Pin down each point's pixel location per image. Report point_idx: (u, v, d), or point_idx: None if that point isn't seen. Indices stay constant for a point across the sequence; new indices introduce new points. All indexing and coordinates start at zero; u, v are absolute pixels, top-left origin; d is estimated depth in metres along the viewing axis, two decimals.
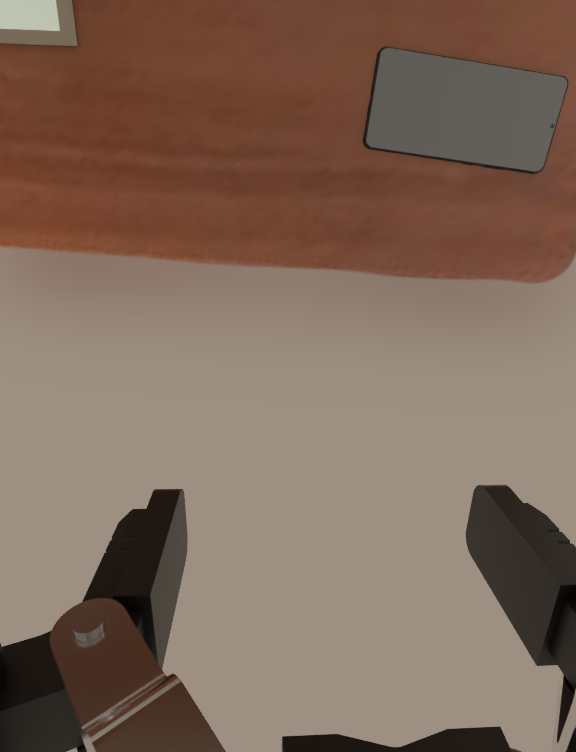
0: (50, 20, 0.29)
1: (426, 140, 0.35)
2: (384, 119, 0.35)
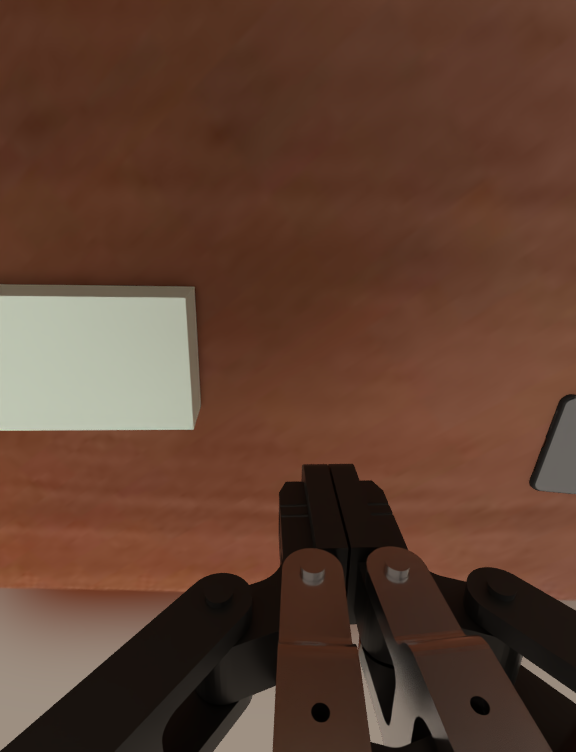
0: (182, 420, 0.24)
1: None
2: (560, 465, 0.29)
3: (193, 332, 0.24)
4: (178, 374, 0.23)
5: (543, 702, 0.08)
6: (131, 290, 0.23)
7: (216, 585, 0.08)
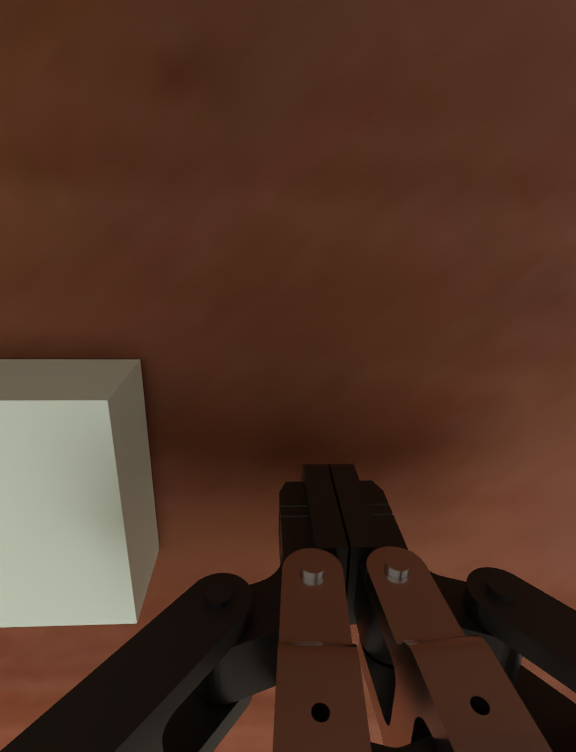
0: (116, 609, 0.13)
1: None
2: None
3: (136, 445, 0.13)
4: (102, 535, 0.12)
5: (543, 702, 0.08)
6: (13, 375, 0.12)
7: (217, 584, 0.08)
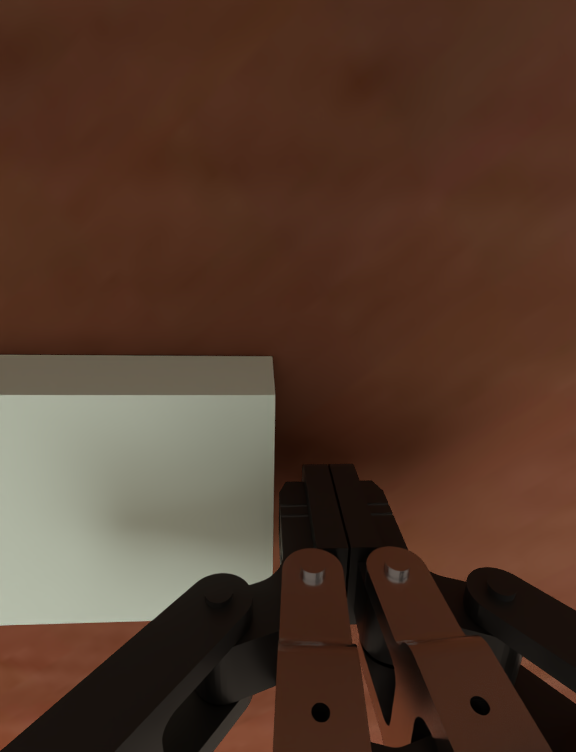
0: None
1: None
2: None
3: None
4: (251, 529, 0.12)
5: (543, 702, 0.08)
6: (163, 370, 0.12)
7: (217, 585, 0.08)
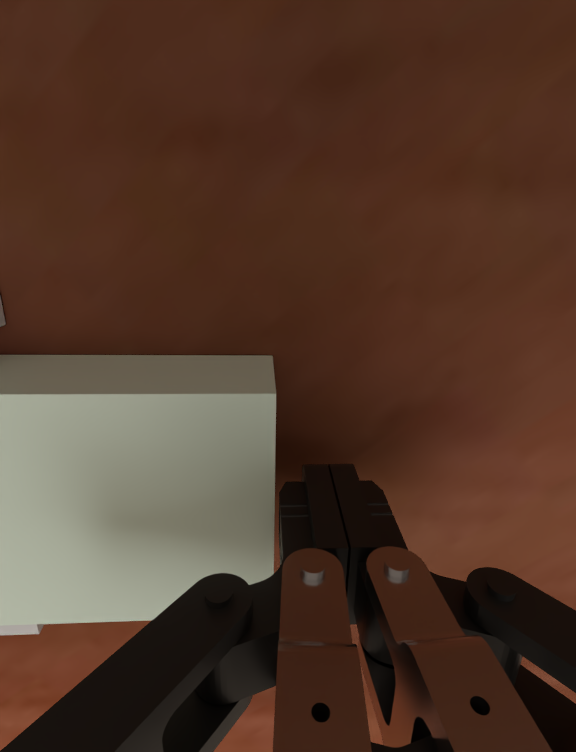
0: None
1: None
2: None
3: None
4: (252, 528, 0.12)
5: (543, 702, 0.08)
6: (163, 370, 0.12)
7: (217, 584, 0.08)
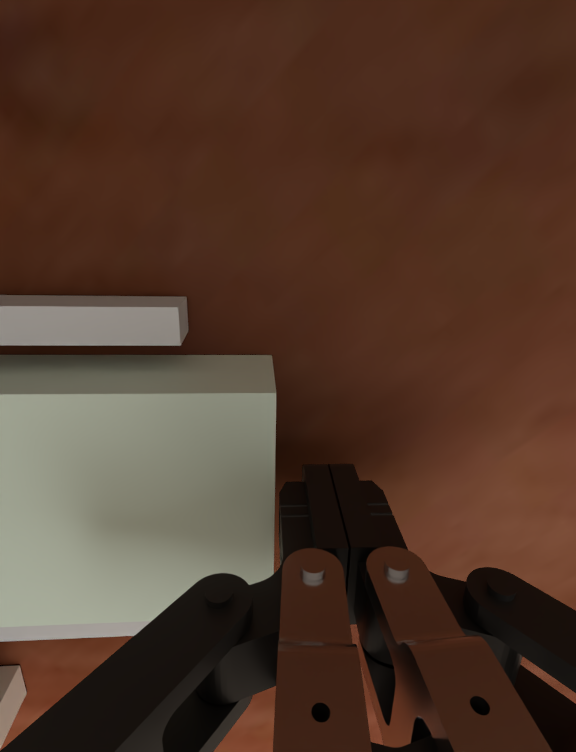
0: None
1: None
2: None
3: None
4: (252, 528, 0.12)
5: (543, 702, 0.08)
6: (163, 369, 0.12)
7: (217, 584, 0.08)
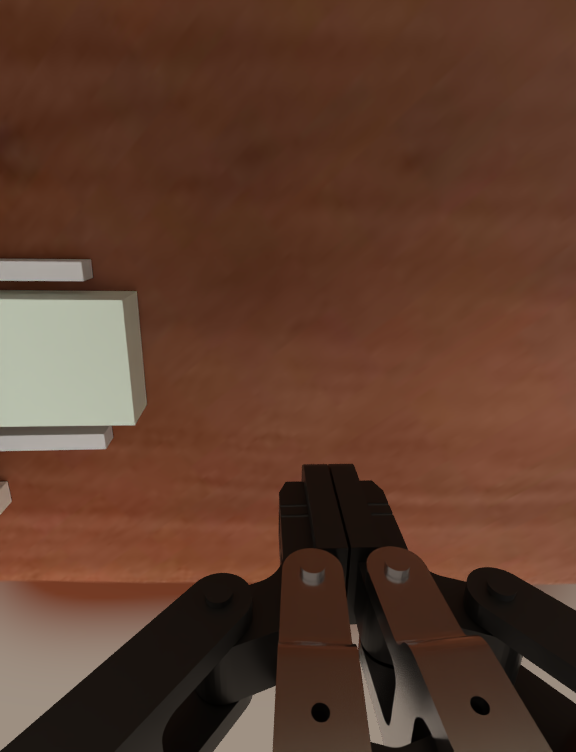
0: (124, 416, 0.25)
1: None
2: None
3: (135, 333, 0.25)
4: (118, 372, 0.24)
5: (543, 702, 0.08)
6: (74, 294, 0.24)
7: (216, 584, 0.08)
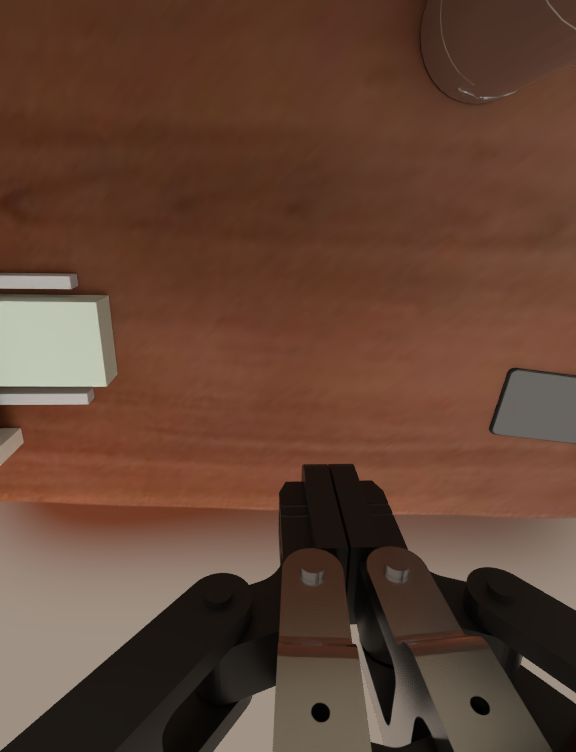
0: (99, 380, 0.37)
1: (540, 429, 0.44)
2: (509, 416, 0.43)
3: (106, 324, 0.37)
4: (94, 350, 0.36)
5: (543, 702, 0.08)
6: (65, 297, 0.36)
7: (216, 584, 0.08)
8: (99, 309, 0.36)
